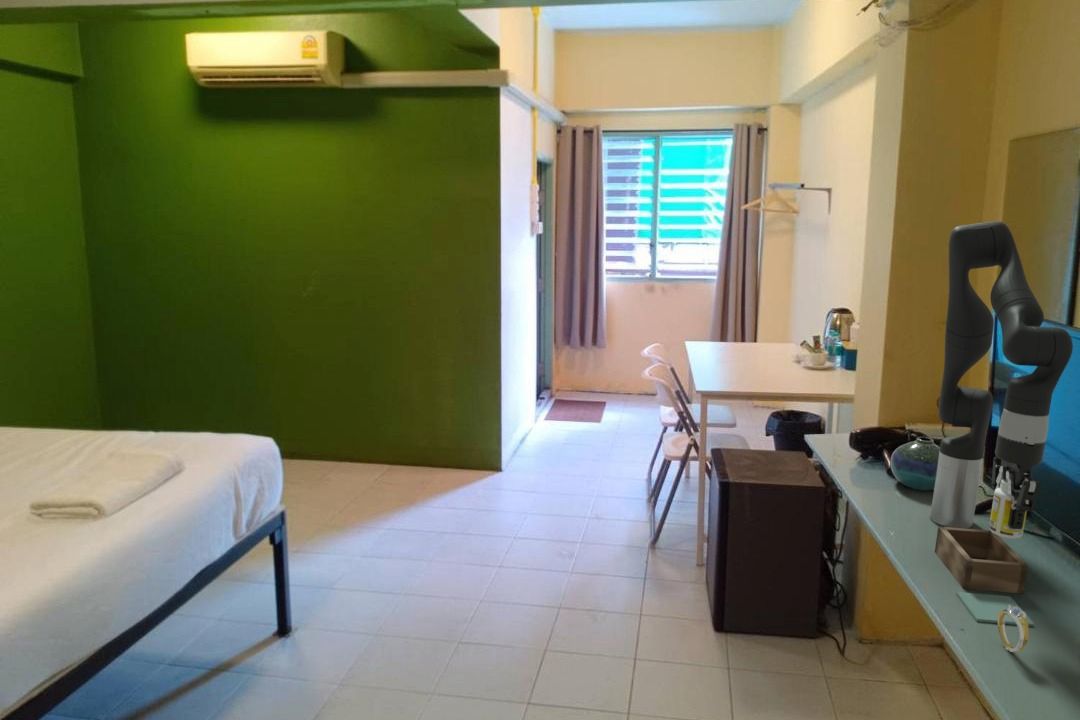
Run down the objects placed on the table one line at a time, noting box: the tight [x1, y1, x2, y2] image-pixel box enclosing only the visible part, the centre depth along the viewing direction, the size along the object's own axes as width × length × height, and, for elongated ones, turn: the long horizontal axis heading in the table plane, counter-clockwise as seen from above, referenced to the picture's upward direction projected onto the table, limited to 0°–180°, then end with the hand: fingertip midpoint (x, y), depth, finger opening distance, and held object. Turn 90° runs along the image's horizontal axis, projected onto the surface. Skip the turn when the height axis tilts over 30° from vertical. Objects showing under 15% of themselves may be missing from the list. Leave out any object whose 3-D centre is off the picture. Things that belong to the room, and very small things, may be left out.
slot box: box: [934, 526, 1029, 594], centre depth 166 cm, size 16×11×6 cm
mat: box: [955, 591, 1035, 627], centre depth 151 cm, size 10×10×1 cm
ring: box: [997, 605, 1030, 653], centre depth 137 cm, size 7×3×8 cm, turn 175°
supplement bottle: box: [988, 479, 1030, 539], centre depth 147 cm, size 6×6×10 cm
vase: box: [890, 436, 940, 491], centre depth 212 cm, size 15×15×13 cm
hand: (1007, 520), depth 147 cm, fingers closed on supplement bottle, 5 cm apart
